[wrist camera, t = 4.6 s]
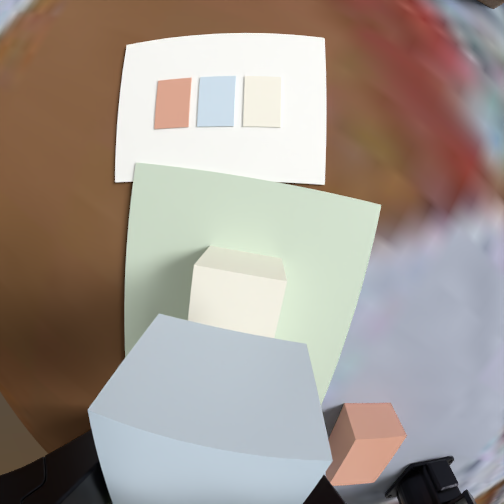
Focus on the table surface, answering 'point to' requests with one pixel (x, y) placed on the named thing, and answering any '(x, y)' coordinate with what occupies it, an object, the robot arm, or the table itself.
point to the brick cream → (237, 291)
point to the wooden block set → (492, 3)
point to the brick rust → (363, 442)
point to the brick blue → (210, 419)
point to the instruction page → (225, 106)
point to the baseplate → (248, 240)
